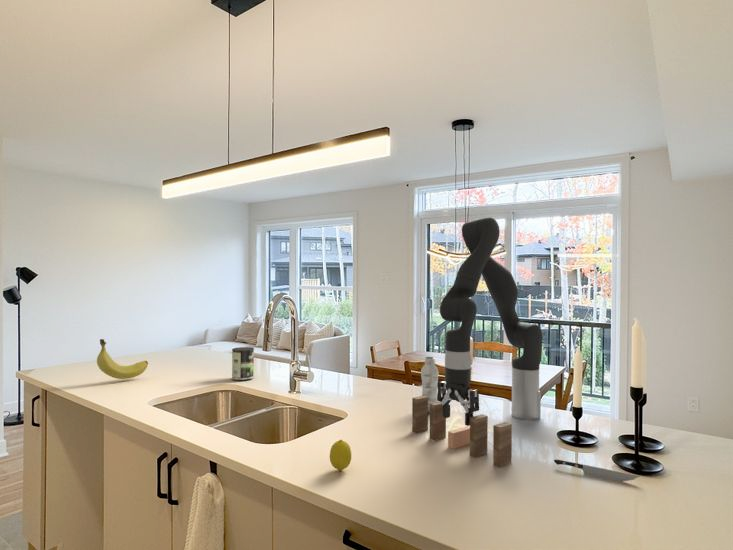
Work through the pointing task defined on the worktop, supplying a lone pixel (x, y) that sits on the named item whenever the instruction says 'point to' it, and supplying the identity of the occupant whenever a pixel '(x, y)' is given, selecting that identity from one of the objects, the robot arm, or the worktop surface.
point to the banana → (118, 366)
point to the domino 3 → (459, 437)
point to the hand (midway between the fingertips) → (457, 421)
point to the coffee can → (242, 363)
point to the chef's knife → (600, 471)
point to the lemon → (340, 455)
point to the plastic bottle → (429, 380)
